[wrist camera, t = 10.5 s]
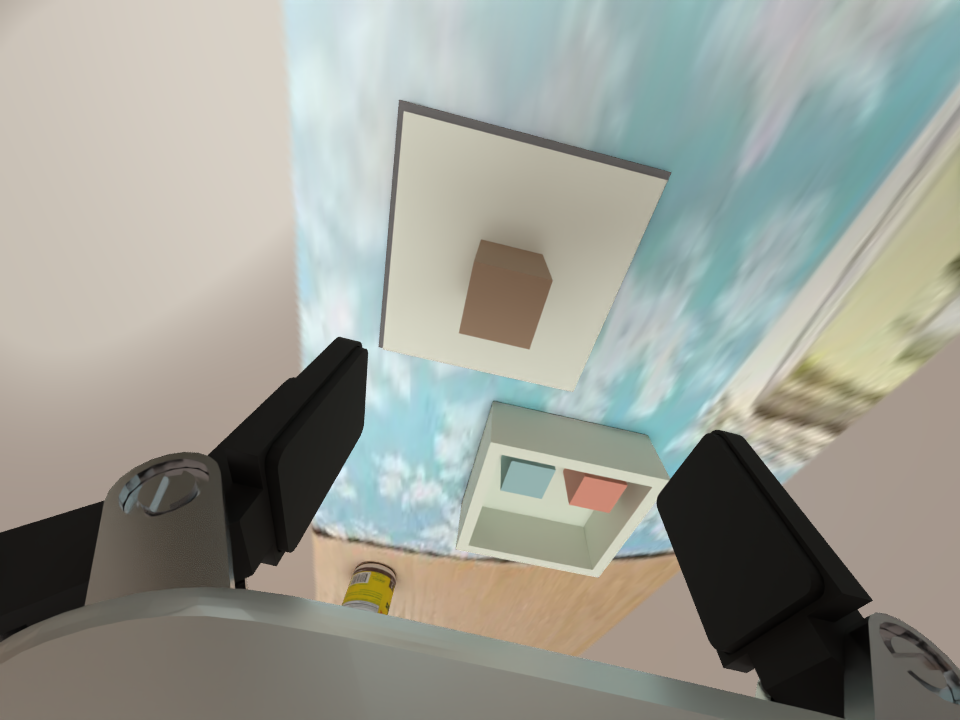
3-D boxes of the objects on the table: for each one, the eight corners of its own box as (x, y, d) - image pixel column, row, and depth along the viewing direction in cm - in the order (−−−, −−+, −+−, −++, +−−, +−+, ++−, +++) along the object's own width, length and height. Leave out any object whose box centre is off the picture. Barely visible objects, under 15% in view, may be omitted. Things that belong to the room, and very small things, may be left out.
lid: (660, 179, 20) (720, 186, 14) (570, 384, 28) (587, 441, 22) (408, 113, 19) (367, 92, 14) (386, 343, 27) (355, 391, 21)
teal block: (550, 438, 30) (555, 470, 27) (538, 466, 32) (541, 498, 29) (511, 429, 30) (511, 460, 27) (500, 458, 32) (500, 490, 29)
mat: (668, 172, 20) (671, 172, 20) (572, 388, 28) (573, 391, 28) (400, 100, 19) (398, 99, 19) (380, 344, 27) (378, 346, 27)
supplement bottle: (388, 589, 46) (361, 689, 38) (349, 576, 45) (311, 676, 36) (404, 570, 44) (378, 673, 35) (362, 555, 43) (325, 658, 34)
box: (647, 435, 30) (671, 481, 26) (587, 529, 37) (598, 577, 33) (493, 400, 29) (490, 442, 25) (461, 503, 36) (455, 549, 32)
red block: (615, 452, 31) (627, 485, 28) (599, 479, 32) (609, 513, 29) (576, 444, 30) (584, 476, 27) (562, 471, 32) (568, 504, 29)
